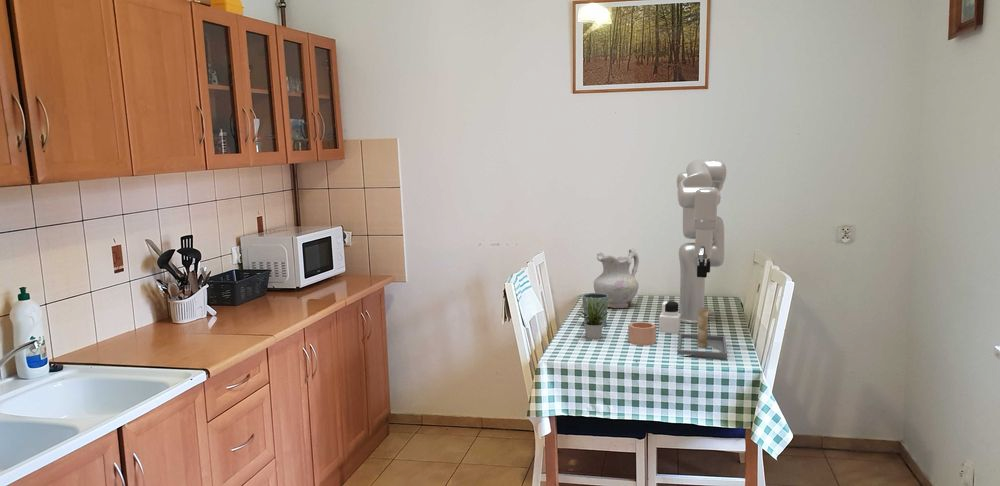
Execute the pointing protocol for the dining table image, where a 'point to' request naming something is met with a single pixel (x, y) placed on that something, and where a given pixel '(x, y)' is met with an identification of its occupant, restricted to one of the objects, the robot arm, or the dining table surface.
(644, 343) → the cup
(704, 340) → the dowel
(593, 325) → the house plant
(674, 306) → the medicine bottle
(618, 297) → the ceramic pitcher
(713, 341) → the tray
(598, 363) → the dining table surface
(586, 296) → the blue-grey plant pot
